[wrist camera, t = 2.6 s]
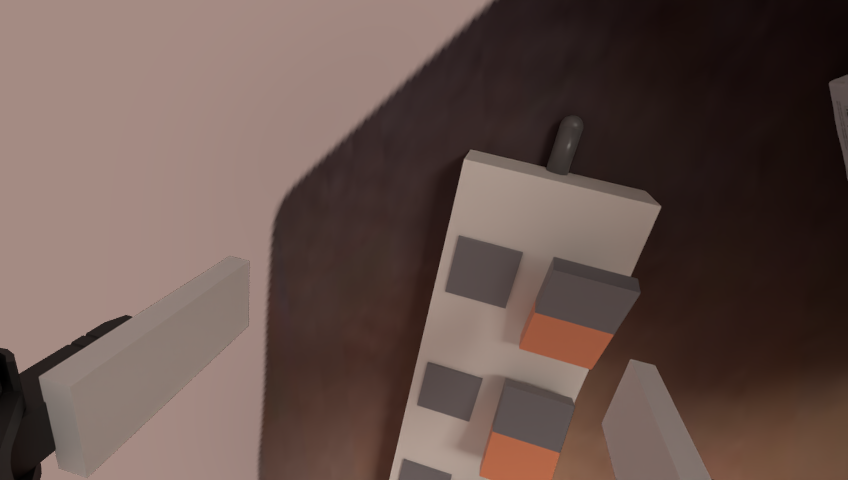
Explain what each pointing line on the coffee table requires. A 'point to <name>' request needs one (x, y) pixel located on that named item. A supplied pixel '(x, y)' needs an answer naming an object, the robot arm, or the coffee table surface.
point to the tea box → (841, 112)
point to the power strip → (506, 295)
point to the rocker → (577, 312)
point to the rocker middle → (526, 433)
